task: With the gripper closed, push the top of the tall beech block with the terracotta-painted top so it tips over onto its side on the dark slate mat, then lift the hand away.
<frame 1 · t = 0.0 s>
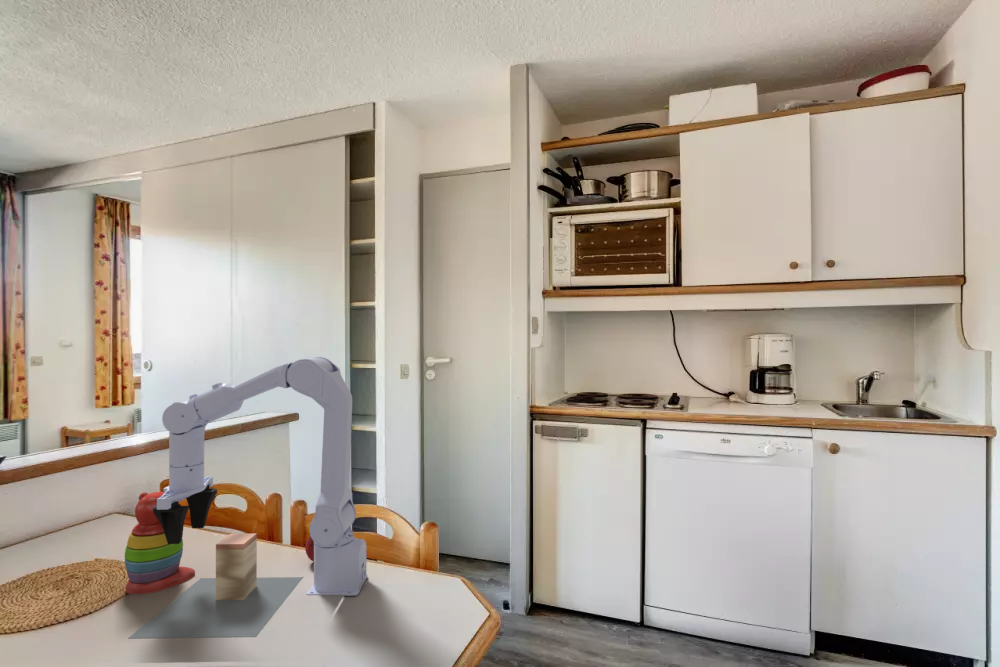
hand: (186, 535, 97), 10 cm above the table, tool pointing down, fingers open, 7 cm apart
stacking bear: (156, 585, 99), on the table
onion: (320, 564, 107), on the table
beech block: (236, 592, 94), resting on slate mat
slate mat: (225, 607, 90), on the table
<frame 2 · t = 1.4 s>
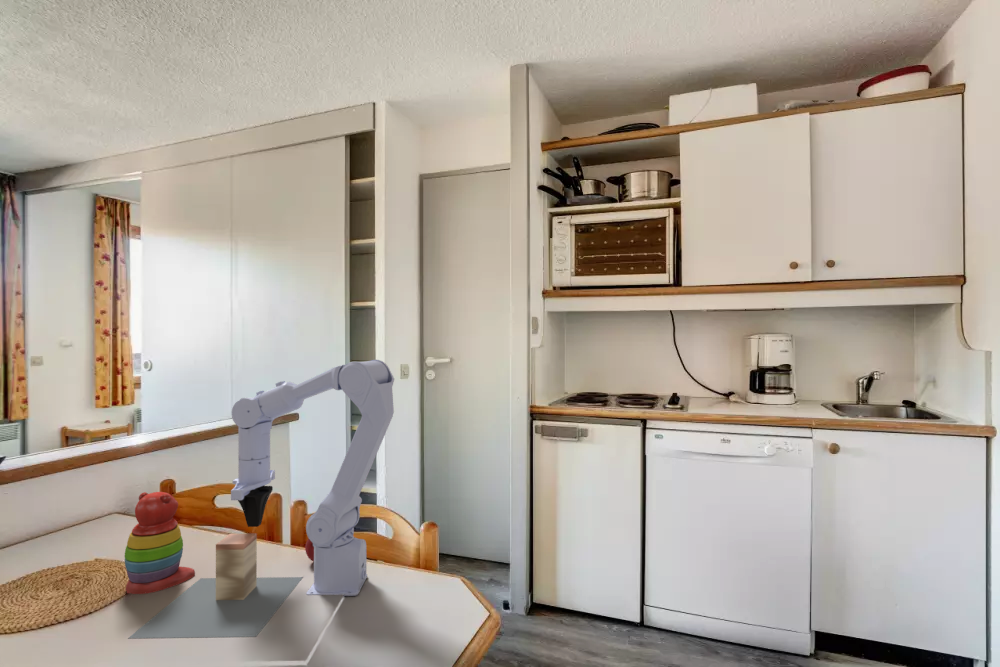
hand: (254, 525, 101), 10 cm above the table, tool pointing down, fingers closed
nothing on the table moved.
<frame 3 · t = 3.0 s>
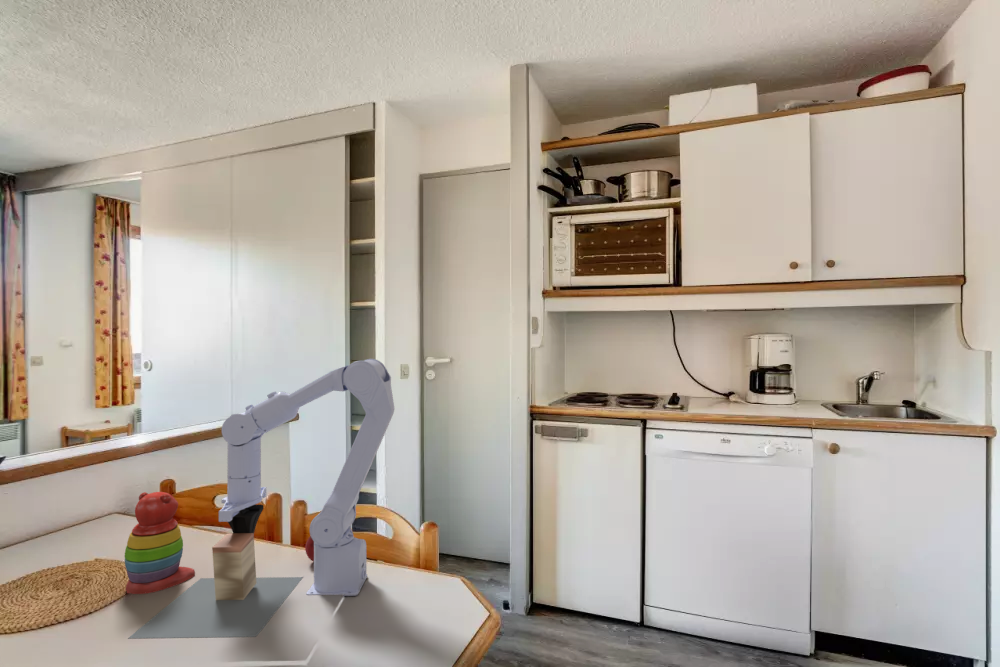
hand: (244, 546, 97), 8 cm above the table, tool pointing down, fingers closed
beech block: (236, 591, 94), point 1 cm above the table, tilted 7°, touching slate mat
everything else where it was.
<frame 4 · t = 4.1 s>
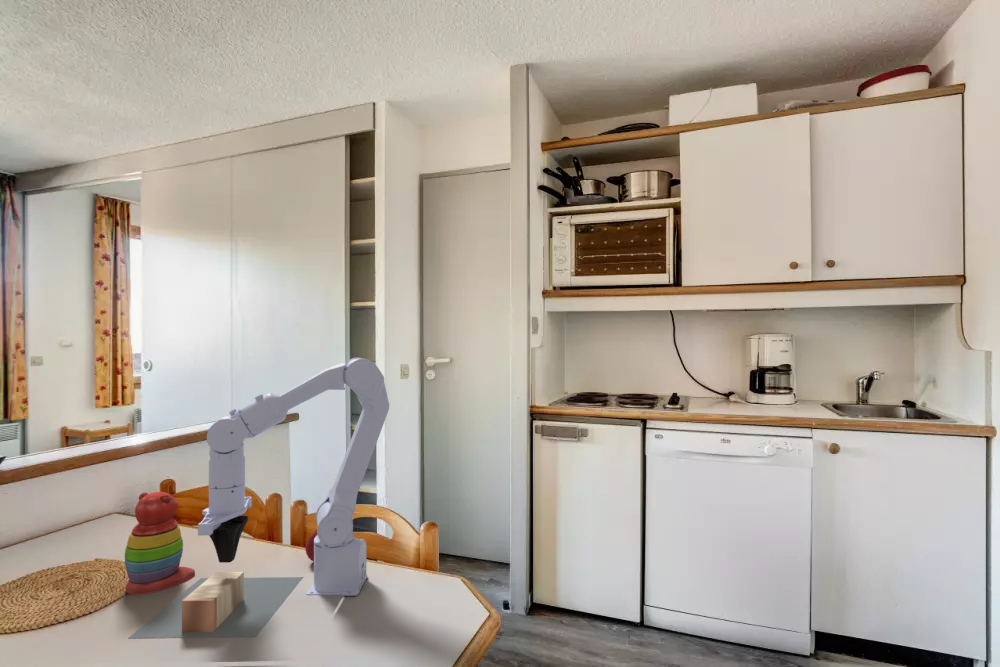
hand: (226, 560, 91), 8 cm above the table, tool pointing down, fingers closed
beech block: (229, 585, 91), point 3 cm above the table, tilted 90°, touching slate mat
everything else where it was.
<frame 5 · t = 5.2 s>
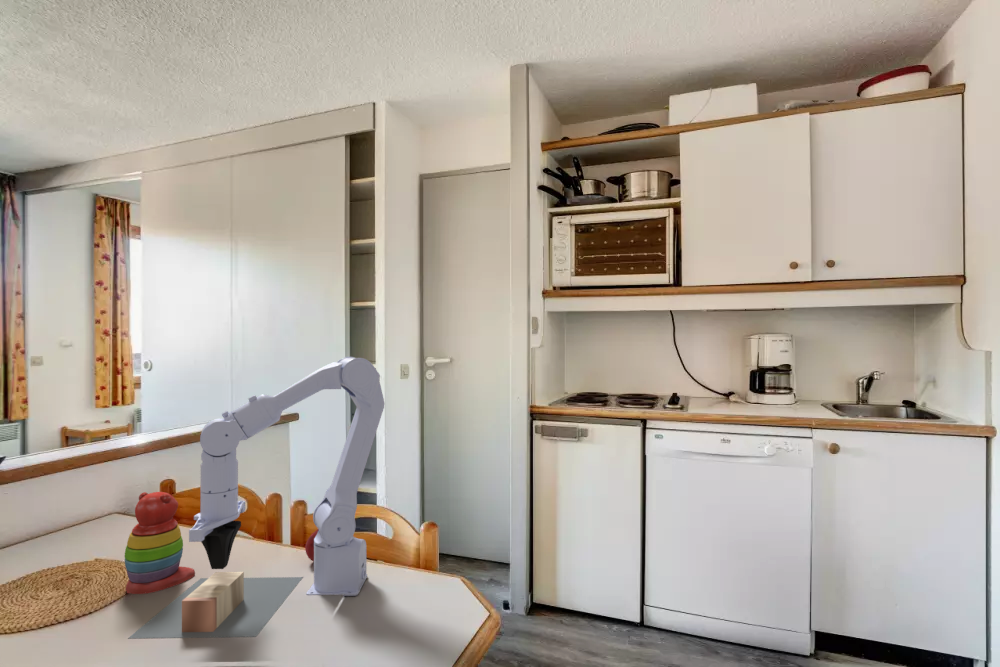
hand: (219, 567, 88), 8 cm above the table, tool pointing down, fingers closed
nothing on the table moved.
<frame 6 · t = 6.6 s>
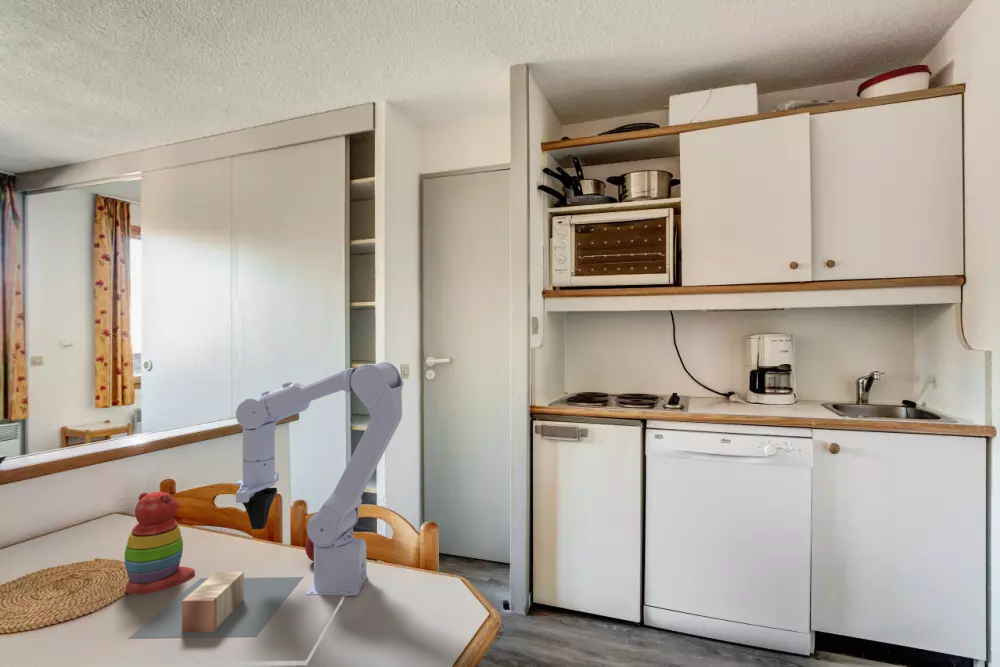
hand: (258, 528, 100), 10 cm above the table, tool pointing down, fingers closed
nothing on the table moved.
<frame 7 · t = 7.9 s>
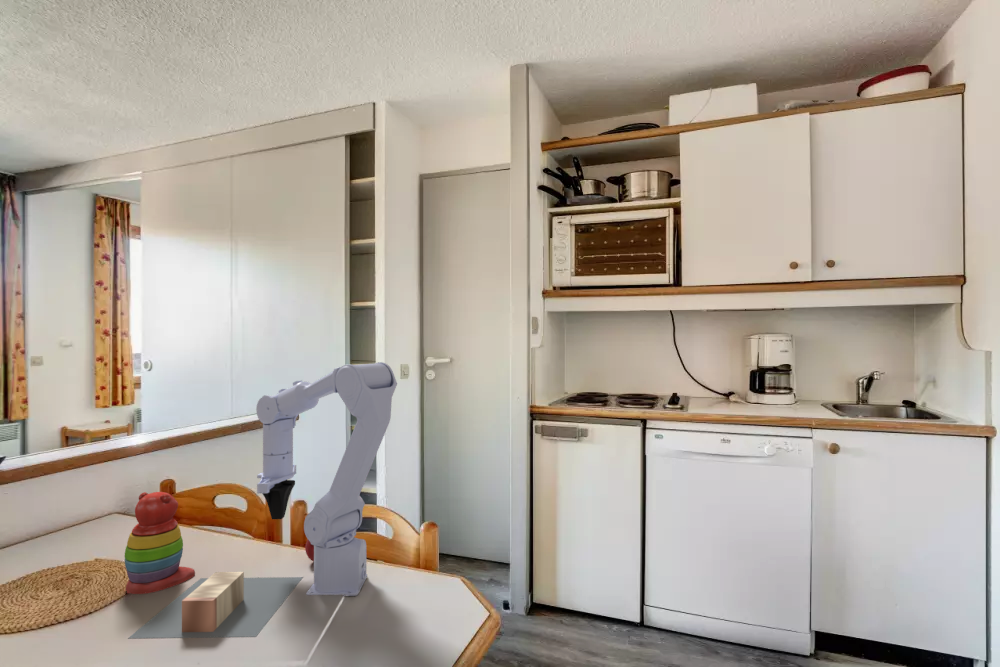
hand: (278, 518, 105), 10 cm above the table, tool pointing down, fingers closed
nothing on the table moved.
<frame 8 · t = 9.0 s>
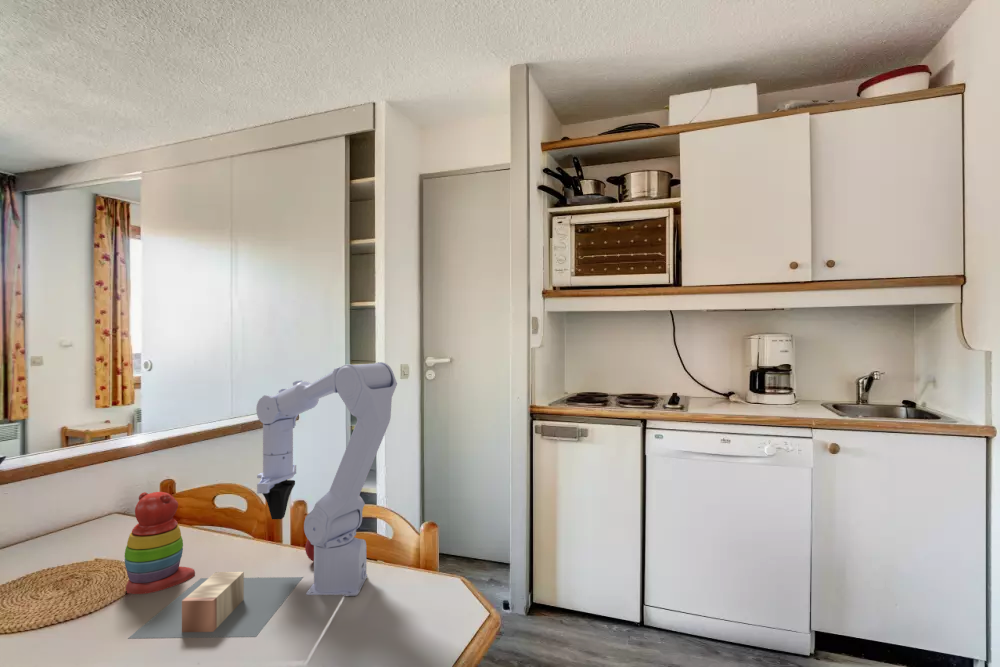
hand: (278, 518, 105), 10 cm above the table, tool pointing down, fingers closed
nothing on the table moved.
at the end: beech block tilted 90°; beech block inside the target area (1.0 cm from its centre), point 3.0 cm above the table; beech block touching slate mat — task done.
